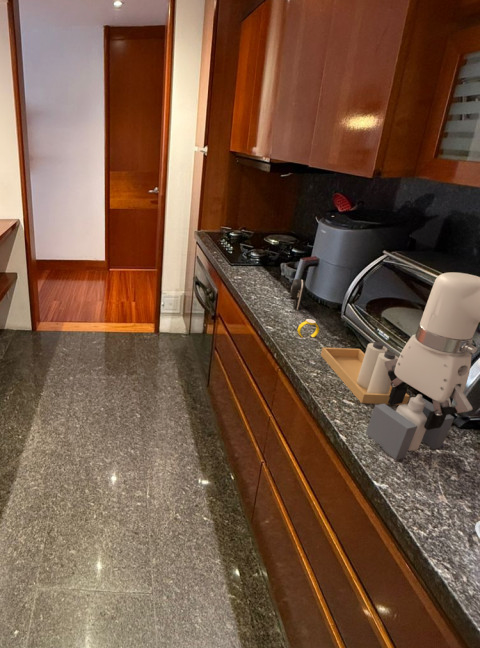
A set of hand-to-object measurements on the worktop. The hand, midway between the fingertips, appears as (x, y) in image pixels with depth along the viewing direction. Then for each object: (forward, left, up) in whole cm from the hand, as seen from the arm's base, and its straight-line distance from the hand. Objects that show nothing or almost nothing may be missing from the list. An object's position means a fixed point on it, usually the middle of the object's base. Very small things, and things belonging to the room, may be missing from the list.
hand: (412, 414), depth 79 cm
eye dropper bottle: (0, 0, -7) cm, 7 cm away
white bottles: (-8, -15, -7) cm, 18 cm away
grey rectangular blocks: (0, 0, -7) cm, 7 cm away
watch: (-13, -42, -7) cm, 45 cm away
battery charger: (-23, -60, -7) cm, 65 cm away
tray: (-10, -20, -7) cm, 23 cm away
